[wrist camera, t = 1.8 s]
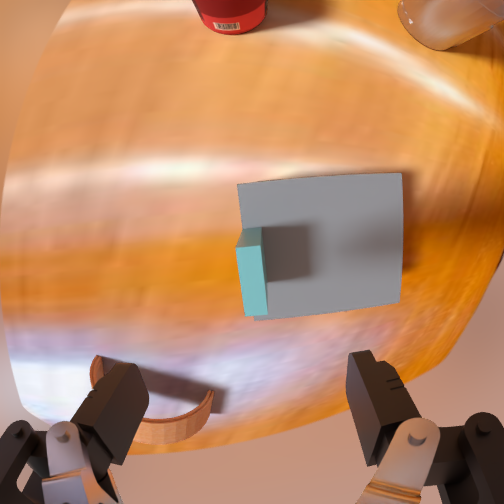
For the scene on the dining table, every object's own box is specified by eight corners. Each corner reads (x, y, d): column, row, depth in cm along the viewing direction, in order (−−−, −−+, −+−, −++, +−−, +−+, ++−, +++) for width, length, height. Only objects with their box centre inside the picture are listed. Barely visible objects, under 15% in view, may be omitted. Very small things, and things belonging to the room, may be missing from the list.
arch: (209, 413, 41) (199, 460, 31) (99, 378, 41) (73, 415, 31) (215, 390, 39) (204, 440, 30) (96, 353, 39) (66, 391, 29)
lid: (392, 172, 24) (437, 175, 16) (392, 294, 27) (426, 332, 20) (239, 183, 25) (227, 189, 17) (255, 311, 29) (251, 358, 21)
